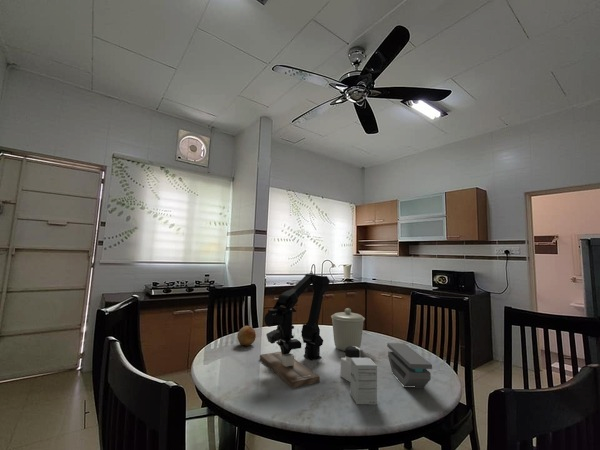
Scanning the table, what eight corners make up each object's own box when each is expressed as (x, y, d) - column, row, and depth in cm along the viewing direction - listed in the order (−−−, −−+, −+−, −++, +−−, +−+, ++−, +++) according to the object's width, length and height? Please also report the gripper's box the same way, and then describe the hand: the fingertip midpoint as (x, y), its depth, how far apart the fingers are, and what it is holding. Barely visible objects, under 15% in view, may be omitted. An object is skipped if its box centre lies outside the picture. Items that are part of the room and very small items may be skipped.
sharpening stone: (387, 368, 125) (387, 342, 126) (404, 368, 125) (404, 343, 127) (410, 396, 100) (410, 364, 102) (432, 396, 101) (431, 364, 102)
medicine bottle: (350, 383, 109) (351, 351, 110) (340, 376, 115) (340, 345, 117) (365, 380, 112) (365, 348, 114) (354, 373, 119) (354, 343, 120)
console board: (282, 355, 137) (283, 350, 137) (319, 381, 109) (319, 375, 110) (259, 359, 131) (260, 354, 131) (292, 387, 104) (292, 381, 104)
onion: (233, 347, 147) (234, 327, 148) (242, 341, 157) (243, 323, 158) (250, 349, 144) (251, 329, 146) (258, 343, 154) (259, 325, 155)
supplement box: (349, 394, 100) (350, 357, 102) (370, 394, 101) (370, 357, 102) (355, 405, 93) (356, 365, 94) (377, 404, 93) (377, 365, 95)
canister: (369, 347, 153) (369, 308, 156) (357, 357, 138) (357, 313, 140) (338, 341, 163) (339, 304, 165) (324, 349, 148) (325, 308, 150)
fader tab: (290, 362, 122) (291, 352, 123) (294, 365, 120) (294, 355, 120) (282, 364, 120) (282, 354, 121) (285, 366, 117) (285, 356, 118)
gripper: (260, 320, 129) (259, 355, 127) (278, 330, 113) (277, 371, 111) (282, 318, 134) (281, 352, 132) (302, 327, 118) (301, 366, 116)
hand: (284, 360), depth 123 cm, fingers closed
